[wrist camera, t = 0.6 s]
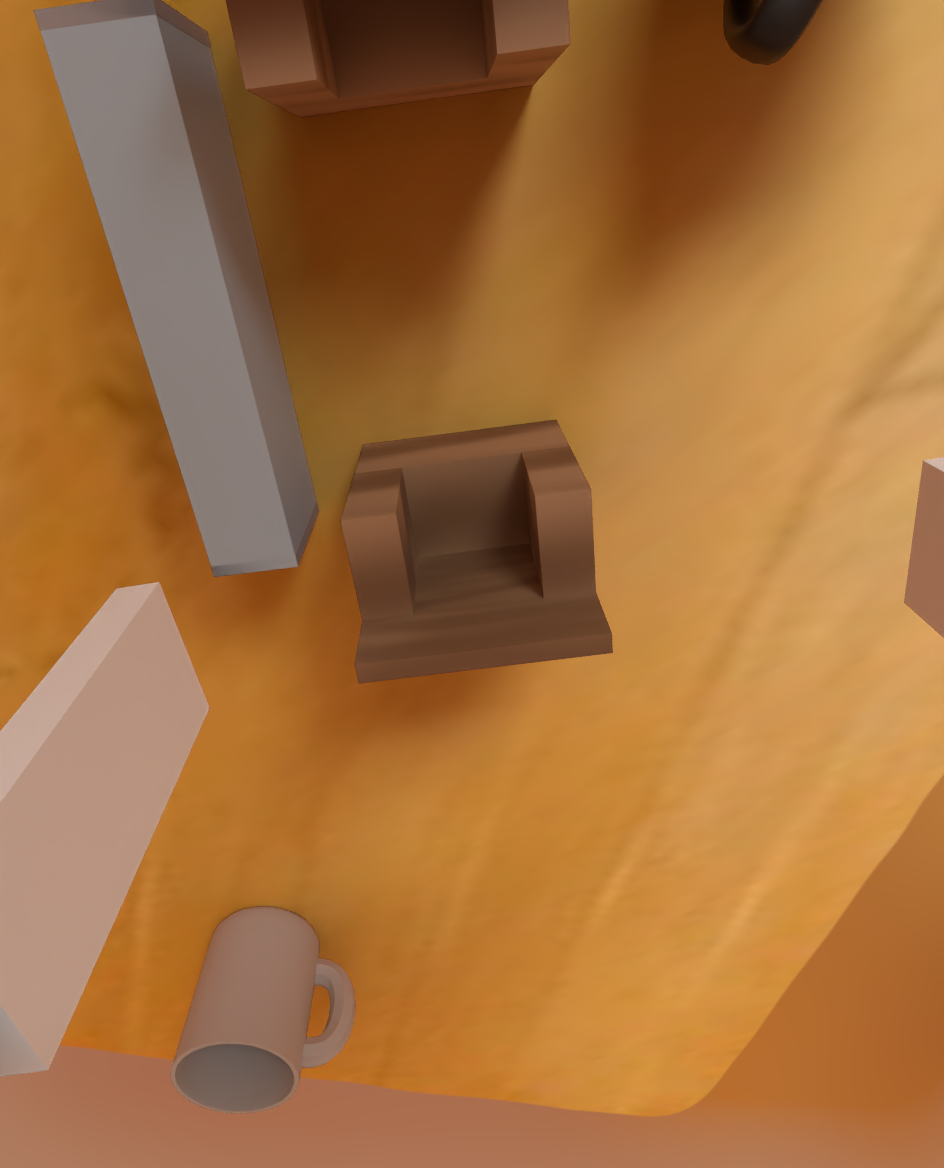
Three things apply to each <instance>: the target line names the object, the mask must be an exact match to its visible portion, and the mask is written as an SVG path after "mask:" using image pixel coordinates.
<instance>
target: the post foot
mask: <svg viewBox="0 0 944 1168" xmlns="http://www.w3.org/2000/svg"><path fill="white" fill-rule="evenodd" d="M340 521H341V526H342V530H343V535H344V539H345V544H346V549H347V553H348V558H349V562H350V567H351V571H352V576H353V580H354V585H355V589H356V594H357V599H358V603H359V608H360V612H361V617H362V626H361V631H360V637H359V643H358V648H357V654H356V659H355V669H356V674H357V678H358V682H359V683H367V682H376V681H384V680H392V679H400V678H409V677H417V676H425V675H433V674H442V673H450V672H458V671H467V670H475V669H483V668H491V667H500V666H508V665H516V664H524V663H533V662H541V661H549V660H557V659H566V658H574V657H582V656H591V655H599V654H607V653H613V649H612V632H611V630H610V627H609V625H608V622H607V620H606V617H605V614H604V612H603V609H602V607H601V604H600V601H599V599H598V596H597V594H596V583H595V562H594V541H593V519H592V498H591V488H590V486H589V484H588V482H587V480H586V478H585V476H584V474H583V472H582V470H581V468H580V466H579V464H578V462H577V460H576V458H575V456H574V454H573V452H572V450H571V448H570V446H569V444H568V442H567V440H566V438H565V436H564V434H563V432H562V430H561V428H560V426H559V424H558V422H557V420H551V421H544V422H536V423H528V424H520V425H512V426H505V427H497V428H489V429H481V430H473V431H466V432H458V433H450V434H442V435H434V436H427V437H419V438H411V439H403V440H395V441H388V442H380V443H372V444H364V445H363V447H362V451H361V454H360V457H359V461H358V464H357V467H356V470H355V474H354V477H353V480H352V484H351V487H350V490H349V494H348V497H347V500H346V504H345V507H344V510H343V514H342V517H341V520H340Z"/></svg>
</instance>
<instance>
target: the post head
mask: <svg viewBox="0 0 944 1168" xmlns="http://www.w3.org/2000/svg"><path fill="white" fill-rule="evenodd" d="M226 3H227V8H228V12H229V17H230V22H231V26H232V31H233V35H234V40H235V44H236V49H237V53H238V58H239V62H240V67H241V71H242V76H243V81H244V85H245V89H246V90H247V91H249V92H251V93H253V94H255V95H257V96H259V97H261V98H263V99H265V100H267V101H269V102H271V103H273V104H275V105H277V106H279V107H281V108H283V109H285V110H286V111H288V112H290V113H292V114H294V115H296V116H298V117H305V116H313V115H320V114H327V113H334V112H341V111H349V110H356V109H363V108H370V107H378V106H385V105H392V104H399V103H406V102H414V101H421V100H428V99H435V98H443V97H450V96H457V95H464V94H471V93H479V92H486V91H493V90H500V89H507V88H515V87H522V86H529V85H534V84H535V83H536V82H537V81H538V79H539V78H540V77H541V76H542V75H543V74H544V73H545V72H546V70H547V69H548V68H549V67H550V66H551V65H552V64H553V63H554V62H555V60H556V59H557V58H558V57H559V56H560V55H561V54H562V53H563V51H564V50H565V49H566V48H567V47H568V46H569V45H570V33H569V11H568V0H226Z"/></svg>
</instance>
